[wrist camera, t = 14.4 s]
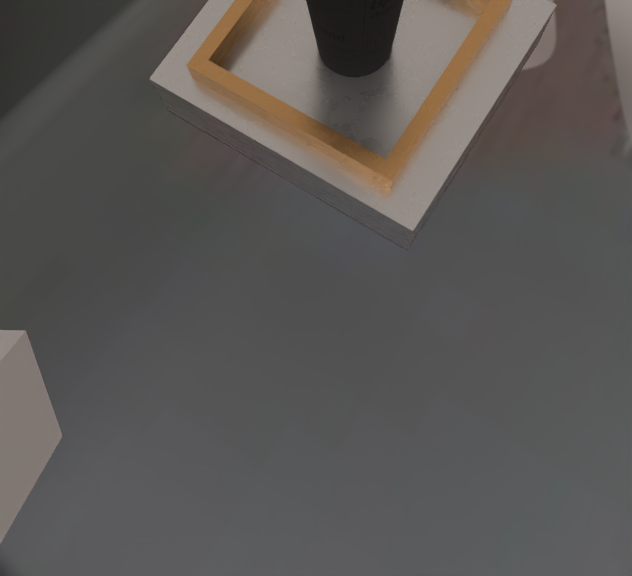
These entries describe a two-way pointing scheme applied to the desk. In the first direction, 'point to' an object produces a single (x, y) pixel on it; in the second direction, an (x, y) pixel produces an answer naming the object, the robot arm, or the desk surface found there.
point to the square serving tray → (353, 98)
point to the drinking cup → (354, 33)
